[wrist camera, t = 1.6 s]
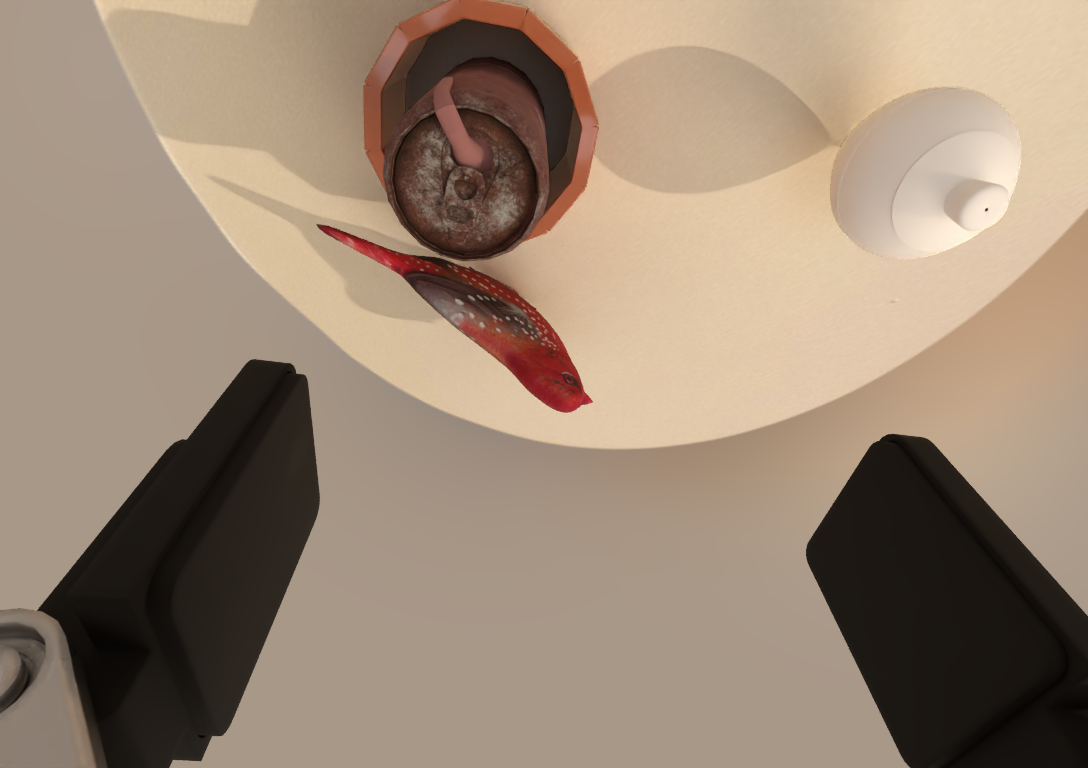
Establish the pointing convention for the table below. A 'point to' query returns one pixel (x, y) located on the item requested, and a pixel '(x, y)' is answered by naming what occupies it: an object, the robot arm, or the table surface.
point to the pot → (484, 6)
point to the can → (471, 162)
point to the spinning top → (925, 172)
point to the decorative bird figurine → (488, 320)
